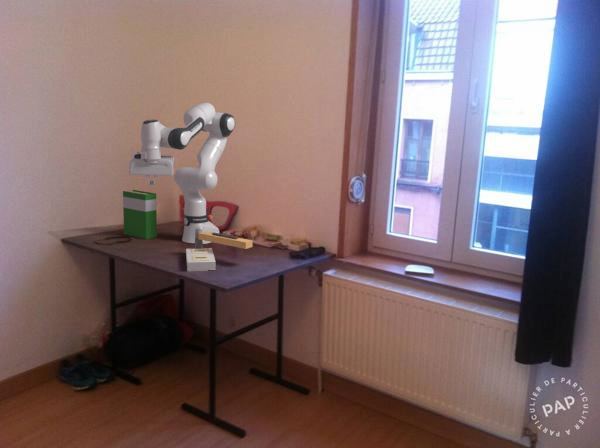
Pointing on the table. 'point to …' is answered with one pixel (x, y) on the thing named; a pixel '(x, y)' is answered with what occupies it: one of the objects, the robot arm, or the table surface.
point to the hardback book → (140, 214)
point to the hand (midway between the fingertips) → (151, 184)
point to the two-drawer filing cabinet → (200, 258)
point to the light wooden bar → (223, 239)
